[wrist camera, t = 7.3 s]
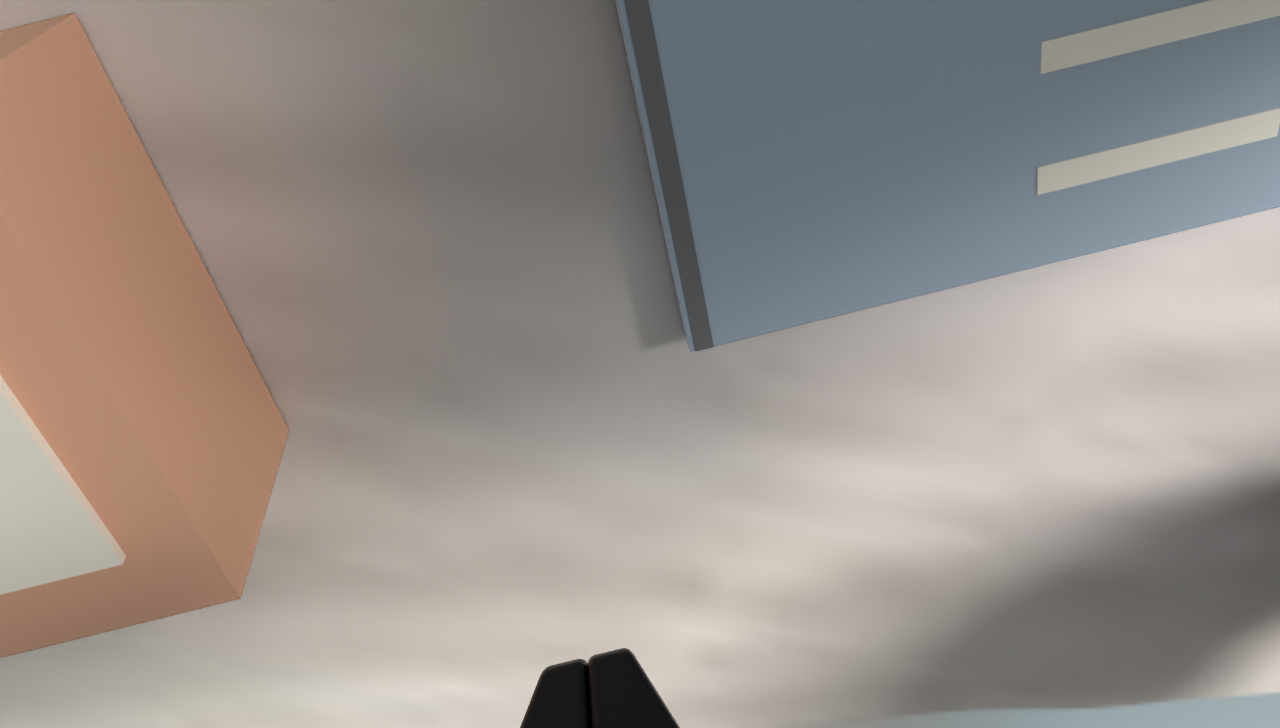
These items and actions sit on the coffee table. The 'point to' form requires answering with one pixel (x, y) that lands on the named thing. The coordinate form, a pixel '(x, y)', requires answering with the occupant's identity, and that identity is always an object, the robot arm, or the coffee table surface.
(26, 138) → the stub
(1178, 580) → the coffee table surface
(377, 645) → the coffee table surface
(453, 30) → the coffee table surface
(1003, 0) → the blue book
